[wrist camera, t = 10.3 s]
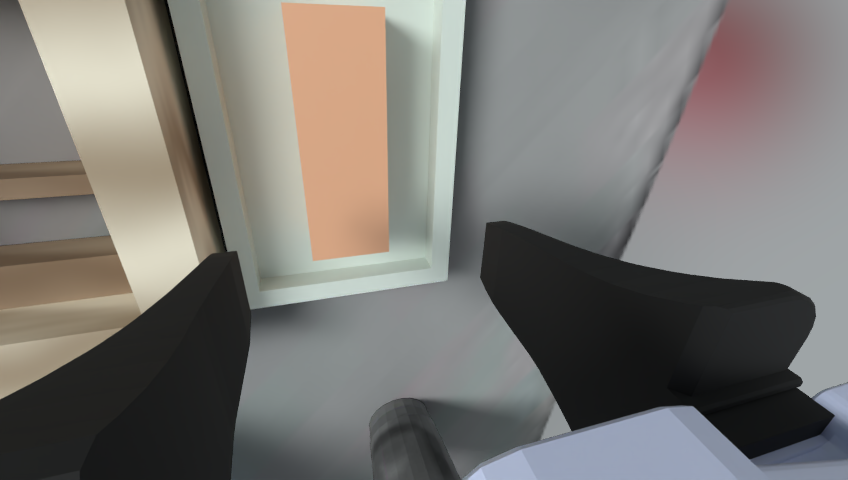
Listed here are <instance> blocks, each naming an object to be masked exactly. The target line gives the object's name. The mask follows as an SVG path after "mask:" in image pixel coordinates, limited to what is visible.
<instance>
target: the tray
mask: <svg viewBox="0 0 848 480" xmlns="http://www.w3.org/2000/svg"><path fill="white" fill-rule="evenodd" d="M167 1H168V5H169V9H170V13H171V17H172V22H173V26H174V30H175V34H176V38H177V42H178V47H179V51H180V55H181V59H182V63H183V67H184V72H185V76H186V80H187V84H188V88H189V93H190V97H191V101H192V105H193V109H194V113H195V118H196V122H197V126H198V130H199V134H200V139H201V143H202V147H203V151H204V155H205V159H206V164H207V168H208V172H209V176H210V180H211V185H212V189H213V193H214V197H215V201H216V205H217V210H218V214H219V218H220V222H221V226H222V230H223V235H224V239H225V243H226V247H227V251H228V252H230V251H237V253H238V257H239V262H240V266H241V271H242V275H243V280H244V284H245V288H246V293H247V297H248V302H249V306H250V310H251V309H258V308H265V307H272V306H278V305H285V304H292V303H299V302H305V301H312V300H319V299H326V298H332V297H339V296H346V295H353V294H359V293H366V292H373V291H380V290H386V289H393V288H400V287H407V286H413V285H420V284H427V283H434V282H440V281H447V277H448V262H449V247H450V232H451V217H452V202H453V187H454V172H455V157H456V142H457V127H458V112H459V97H460V81H461V66H462V51H463V36H464V21H465V6H466V0H167ZM281 2H282V3H305V4H328V5H351V6H375V7H385V29H386V89H387V149H388V209H389V252H383V253H375V254H367V255H359V256H351V257H342V258H334V259H326V260H318V261H313V258H312V250H311V242H310V234H309V226H308V217H307V209H306V201H305V193H304V185H303V177H302V169H301V161H300V153H299V145H298V137H297V128H296V120H295V112H294V104H293V96H292V88H291V80H290V72H289V64H288V56H287V47H286V39H285V31H284V23H283V15H282V7H281Z"/></svg>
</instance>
